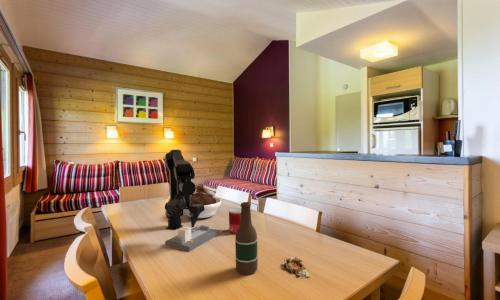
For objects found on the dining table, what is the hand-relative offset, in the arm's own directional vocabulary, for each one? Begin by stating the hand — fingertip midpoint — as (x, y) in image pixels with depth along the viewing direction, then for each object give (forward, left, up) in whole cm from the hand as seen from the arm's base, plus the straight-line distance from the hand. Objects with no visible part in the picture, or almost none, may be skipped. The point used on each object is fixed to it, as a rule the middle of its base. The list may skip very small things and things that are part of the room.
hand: (184, 226), depth 113 cm
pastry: (+52, 0, -9) cm, 52 cm away
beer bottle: (+36, -8, -9) cm, 38 cm away
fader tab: (0, 0, -6) cm, 6 cm away
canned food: (+13, +24, -9) cm, 29 cm away
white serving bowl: (-21, +38, -9) cm, 44 cm away
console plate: (0, +6, -8) cm, 10 cm away
